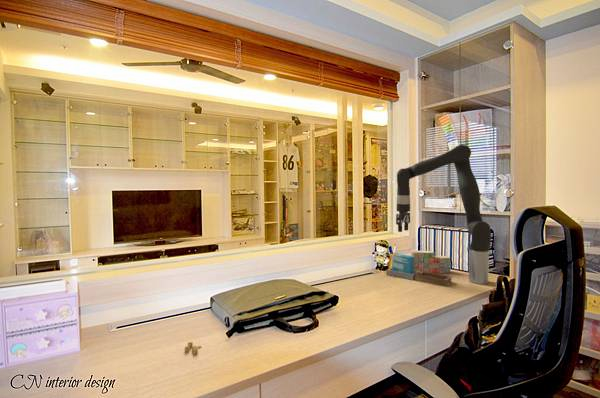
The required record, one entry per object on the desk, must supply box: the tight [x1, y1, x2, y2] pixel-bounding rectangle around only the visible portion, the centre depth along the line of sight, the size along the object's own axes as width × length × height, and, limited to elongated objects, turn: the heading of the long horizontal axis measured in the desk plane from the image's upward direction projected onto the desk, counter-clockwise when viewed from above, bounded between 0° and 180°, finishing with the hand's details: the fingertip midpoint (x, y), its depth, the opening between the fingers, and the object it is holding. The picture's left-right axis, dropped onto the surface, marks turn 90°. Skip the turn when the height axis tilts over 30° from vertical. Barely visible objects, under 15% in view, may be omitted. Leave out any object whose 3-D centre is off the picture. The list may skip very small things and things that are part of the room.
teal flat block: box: [391, 253, 414, 274], centre depth 183 cm, size 12×4×12 cm, turn 37°
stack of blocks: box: [410, 250, 451, 274], centre depth 193 cm, size 21×6×12 cm, turn 81°
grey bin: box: [385, 267, 420, 281], centre depth 183 cm, size 10×16×3 cm, turn 49°
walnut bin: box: [414, 272, 452, 287], centre depth 172 cm, size 10×16×3 cm, turn 48°
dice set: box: [184, 341, 202, 355], centre depth 99 cm, size 5×5×2 cm
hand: (403, 231), depth 183 cm, fingers open, 8 cm apart
